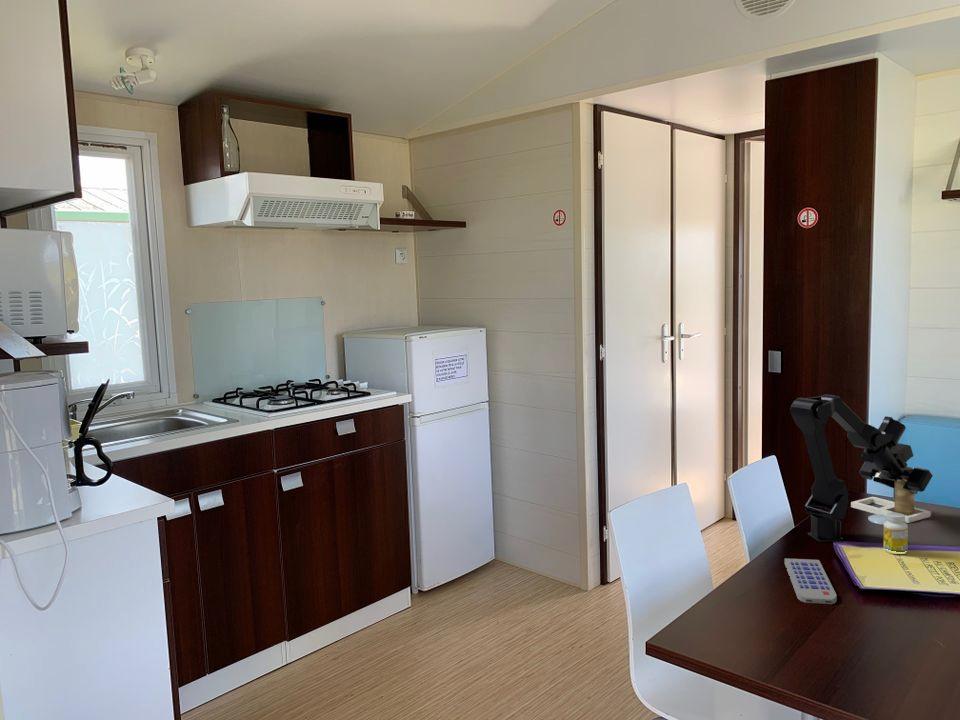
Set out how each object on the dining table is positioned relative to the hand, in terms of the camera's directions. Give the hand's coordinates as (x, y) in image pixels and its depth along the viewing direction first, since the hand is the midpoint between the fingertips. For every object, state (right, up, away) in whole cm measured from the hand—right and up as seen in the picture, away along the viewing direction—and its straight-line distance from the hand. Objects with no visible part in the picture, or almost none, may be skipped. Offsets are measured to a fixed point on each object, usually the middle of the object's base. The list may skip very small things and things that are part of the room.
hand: (907, 490), depth 214 cm
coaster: (-8, -8, -3) cm, 12 cm away
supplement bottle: (-18, -11, -26) cm, 33 cm away
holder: (-3, -7, +4) cm, 8 cm away
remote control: (-47, -14, -42) cm, 64 cm away
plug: (-1, -7, 0) cm, 7 cm away
